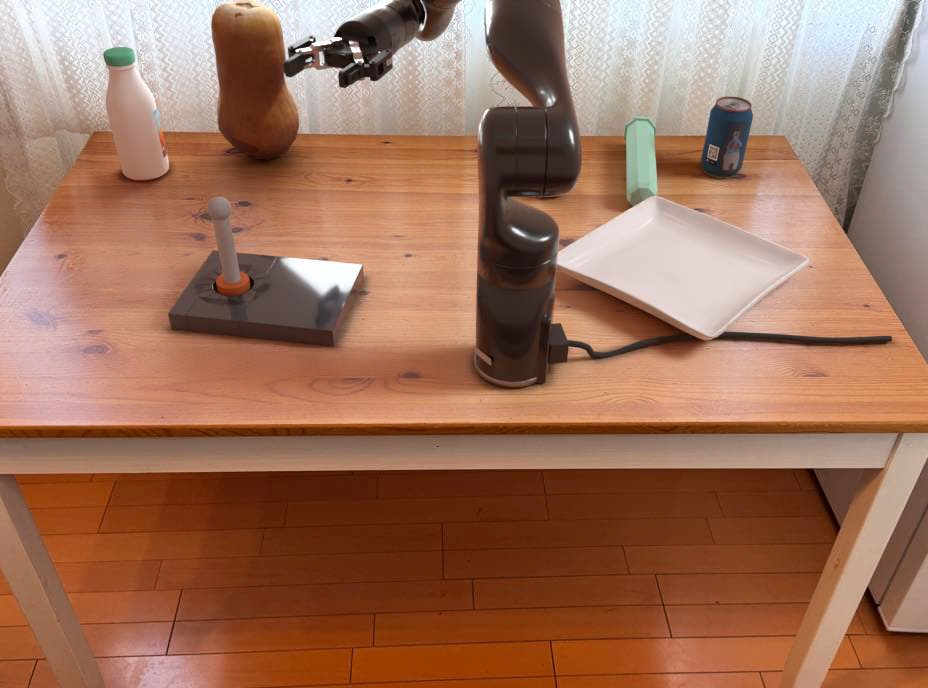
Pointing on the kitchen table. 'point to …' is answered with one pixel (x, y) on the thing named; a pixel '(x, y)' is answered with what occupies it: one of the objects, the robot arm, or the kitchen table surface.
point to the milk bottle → (133, 118)
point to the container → (640, 159)
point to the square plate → (680, 265)
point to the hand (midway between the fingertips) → (313, 75)
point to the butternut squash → (253, 80)
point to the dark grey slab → (272, 299)
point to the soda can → (726, 137)
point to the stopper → (227, 250)
